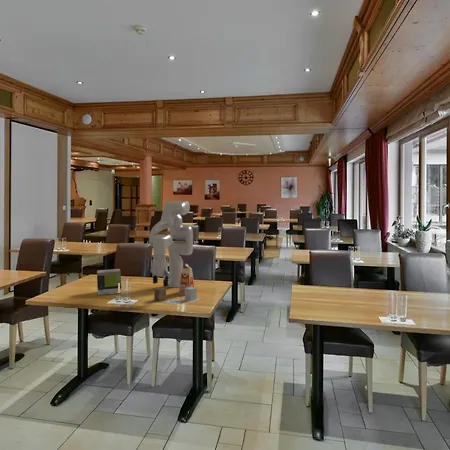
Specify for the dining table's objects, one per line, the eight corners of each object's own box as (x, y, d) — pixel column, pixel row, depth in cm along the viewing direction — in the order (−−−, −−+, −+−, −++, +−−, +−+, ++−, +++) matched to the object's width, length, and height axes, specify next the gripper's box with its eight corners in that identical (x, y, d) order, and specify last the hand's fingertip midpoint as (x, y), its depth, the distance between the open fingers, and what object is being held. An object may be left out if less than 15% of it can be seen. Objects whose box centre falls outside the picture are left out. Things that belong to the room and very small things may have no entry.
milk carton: (191, 295, 256) (191, 264, 254) (177, 294, 258) (177, 263, 256) (195, 291, 265) (195, 262, 263) (182, 291, 267) (181, 261, 265)
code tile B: (180, 300, 244) (180, 299, 244) (190, 297, 251) (190, 296, 251) (190, 302, 238) (190, 302, 238) (201, 299, 245) (201, 299, 245)
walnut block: (154, 300, 243) (154, 288, 243) (160, 298, 247) (160, 287, 246) (159, 301, 240) (159, 290, 239) (166, 299, 244) (165, 288, 243)
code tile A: (163, 302, 239) (163, 301, 239) (174, 299, 246) (174, 298, 246) (173, 305, 233) (173, 304, 233) (184, 301, 240) (184, 301, 240)
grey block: (184, 299, 244) (184, 288, 244) (190, 297, 248) (190, 286, 248) (190, 300, 241) (190, 289, 241) (196, 299, 245) (196, 288, 244)
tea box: (120, 290, 271) (120, 268, 269) (121, 293, 261) (121, 271, 260) (97, 291, 266) (96, 269, 265) (97, 295, 256) (96, 272, 255)
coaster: (152, 300, 243) (152, 300, 243) (161, 298, 248) (161, 297, 248) (159, 302, 238) (159, 302, 238) (168, 300, 244) (168, 299, 244)
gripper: (145, 256, 244) (146, 283, 246) (164, 259, 233) (165, 288, 235) (155, 254, 250) (156, 281, 252) (174, 257, 239) (174, 285, 241)
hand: (160, 284), depth 244 cm, fingers open, 9 cm apart
